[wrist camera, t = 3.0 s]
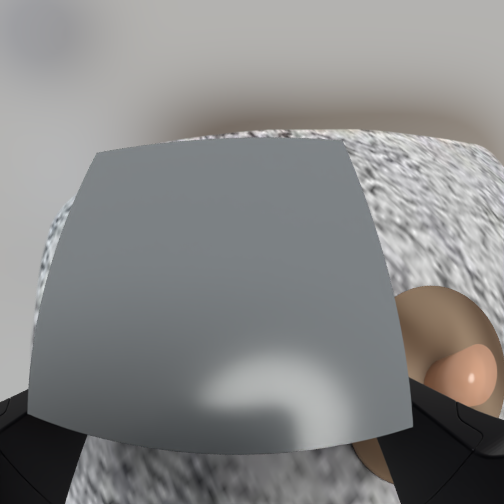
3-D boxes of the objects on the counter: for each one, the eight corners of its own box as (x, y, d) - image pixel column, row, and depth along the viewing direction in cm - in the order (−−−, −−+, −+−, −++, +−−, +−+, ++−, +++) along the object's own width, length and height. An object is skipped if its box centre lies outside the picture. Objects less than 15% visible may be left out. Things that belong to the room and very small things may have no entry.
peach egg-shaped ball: (444, 420, 13) (480, 416, 10) (414, 390, 15) (448, 382, 11) (469, 378, 15) (503, 366, 11) (441, 348, 16) (474, 331, 13)
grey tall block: (292, 414, 15) (412, 426, 3) (186, 415, 15) (27, 414, 3) (286, 317, 19) (342, 140, 7) (188, 318, 18) (96, 152, 6)
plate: (429, 515, 9) (434, 516, 9) (292, 400, 16) (293, 400, 15) (518, 362, 15) (522, 360, 14) (419, 253, 21) (422, 250, 21)
